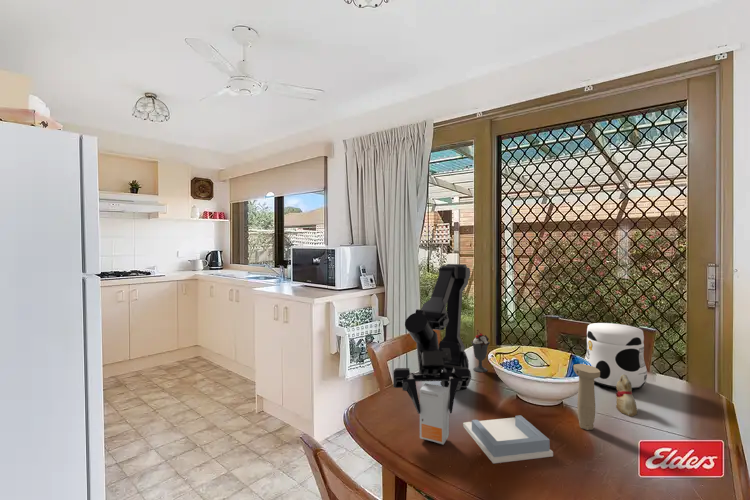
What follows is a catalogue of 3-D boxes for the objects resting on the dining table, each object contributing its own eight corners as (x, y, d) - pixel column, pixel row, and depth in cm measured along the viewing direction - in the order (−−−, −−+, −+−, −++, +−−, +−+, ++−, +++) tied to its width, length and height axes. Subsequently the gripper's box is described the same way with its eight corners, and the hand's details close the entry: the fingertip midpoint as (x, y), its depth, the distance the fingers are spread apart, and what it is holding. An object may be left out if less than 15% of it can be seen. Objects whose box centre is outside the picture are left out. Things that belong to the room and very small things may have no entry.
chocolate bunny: (641, 408, 105) (641, 372, 104) (634, 418, 99) (635, 380, 99) (618, 402, 109) (618, 367, 108) (610, 411, 103) (610, 375, 103)
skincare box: (419, 439, 89) (418, 389, 88) (425, 430, 93) (424, 382, 92) (444, 445, 86) (443, 393, 86) (449, 436, 90) (449, 386, 89)
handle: (586, 420, 98) (586, 363, 97) (604, 433, 92) (604, 372, 91) (569, 421, 97) (569, 364, 97) (585, 434, 91) (586, 373, 91)
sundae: (471, 372, 133) (471, 330, 133) (470, 366, 140) (470, 326, 139) (491, 373, 132) (491, 331, 132) (488, 367, 139) (488, 326, 138)
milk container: (575, 372, 132) (575, 321, 132) (628, 374, 130) (629, 322, 129) (597, 392, 115) (597, 334, 115) (659, 395, 113) (660, 335, 112)
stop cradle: (463, 426, 96) (463, 412, 96) (514, 421, 98) (514, 408, 98) (493, 463, 80) (493, 447, 80) (553, 456, 82) (553, 440, 82)
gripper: (392, 336, 92) (395, 400, 82) (469, 335, 92) (482, 399, 82) (392, 357, 101) (394, 418, 90) (462, 356, 100) (473, 417, 90)
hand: (435, 413), depth 88 cm, fingers closed on skincare box, 7 cm apart
